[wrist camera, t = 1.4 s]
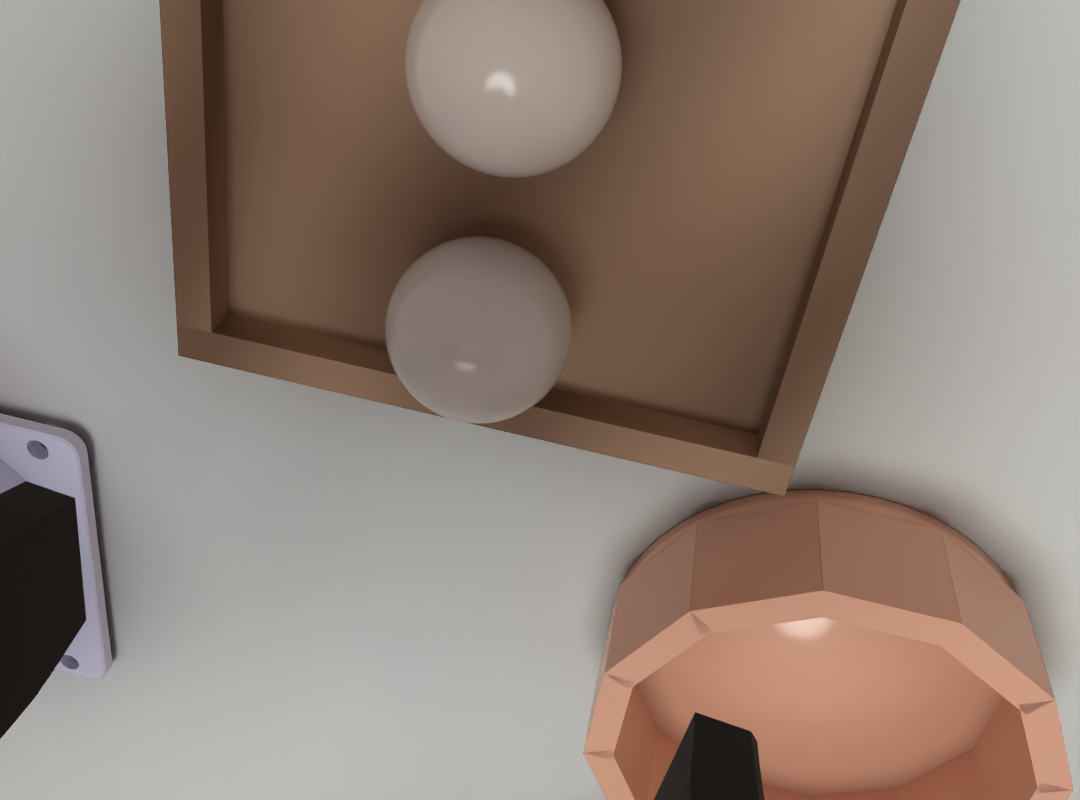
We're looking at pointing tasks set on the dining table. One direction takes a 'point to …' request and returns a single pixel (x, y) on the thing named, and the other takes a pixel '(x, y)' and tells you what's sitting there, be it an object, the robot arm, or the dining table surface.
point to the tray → (555, 209)
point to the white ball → (513, 80)
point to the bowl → (828, 657)
